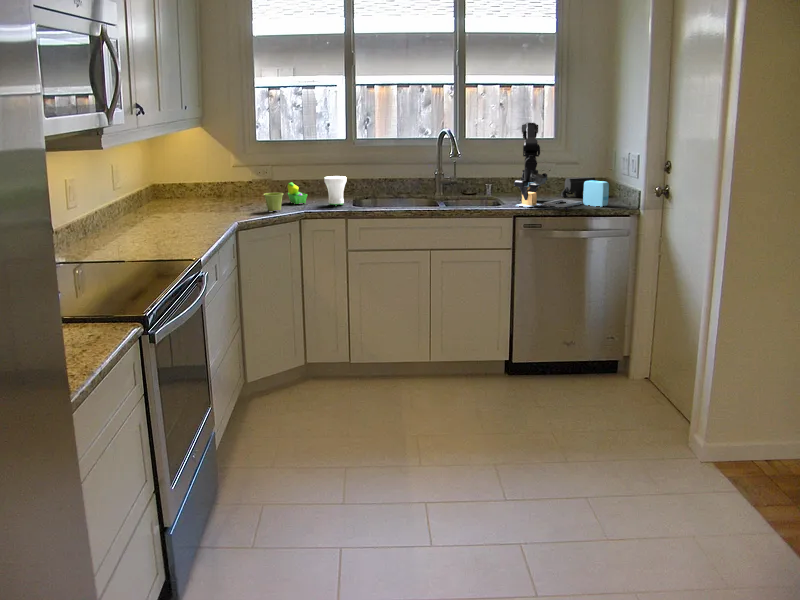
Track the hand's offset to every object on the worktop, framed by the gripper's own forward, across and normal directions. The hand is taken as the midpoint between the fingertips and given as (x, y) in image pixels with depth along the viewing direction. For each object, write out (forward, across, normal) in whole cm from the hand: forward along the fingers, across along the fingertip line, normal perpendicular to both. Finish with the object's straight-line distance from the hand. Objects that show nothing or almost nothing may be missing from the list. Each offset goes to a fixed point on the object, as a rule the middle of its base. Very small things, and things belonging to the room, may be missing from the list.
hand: (529, 199), depth 384 cm
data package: (+3, +22, -24) cm, 33 cm away
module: (+2, 0, 0) cm, 3 cm away
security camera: (+3, +43, 0) cm, 43 cm away
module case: (+3, +13, -11) cm, 17 cm away
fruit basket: (+3, -72, +95) cm, 119 cm away
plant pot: (+3, -96, +82) cm, 126 cm away
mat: (+3, 0, 0) cm, 3 cm away
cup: (+3, -62, +75) cm, 97 cm away
